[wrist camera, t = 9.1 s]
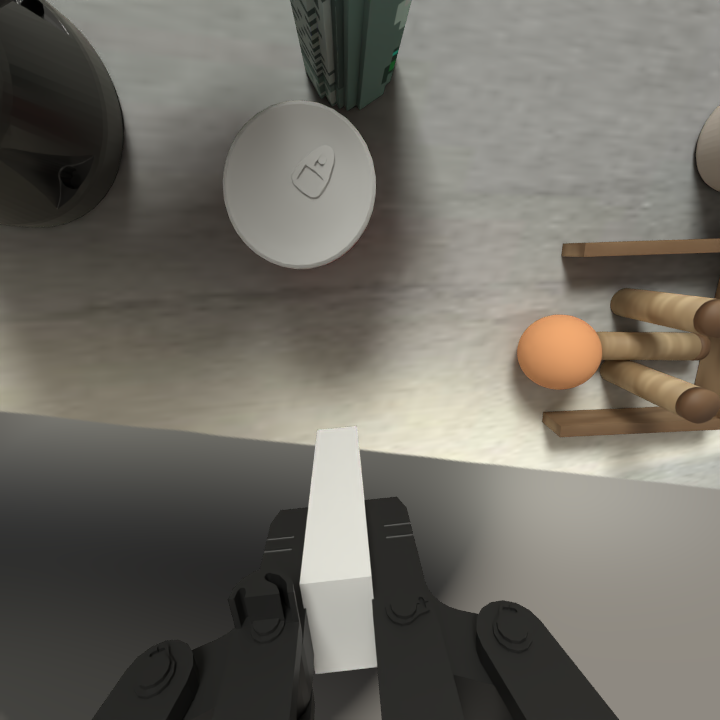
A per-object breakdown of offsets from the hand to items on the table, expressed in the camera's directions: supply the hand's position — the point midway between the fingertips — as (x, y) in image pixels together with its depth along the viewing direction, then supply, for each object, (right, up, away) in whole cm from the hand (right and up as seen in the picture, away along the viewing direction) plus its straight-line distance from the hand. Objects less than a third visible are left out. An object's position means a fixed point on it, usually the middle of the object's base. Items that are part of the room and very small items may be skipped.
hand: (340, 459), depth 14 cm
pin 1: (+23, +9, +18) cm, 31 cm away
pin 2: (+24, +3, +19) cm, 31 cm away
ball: (+17, +4, +16) cm, 23 cm away
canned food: (-3, +15, +15) cm, 22 cm away
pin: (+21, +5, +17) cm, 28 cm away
